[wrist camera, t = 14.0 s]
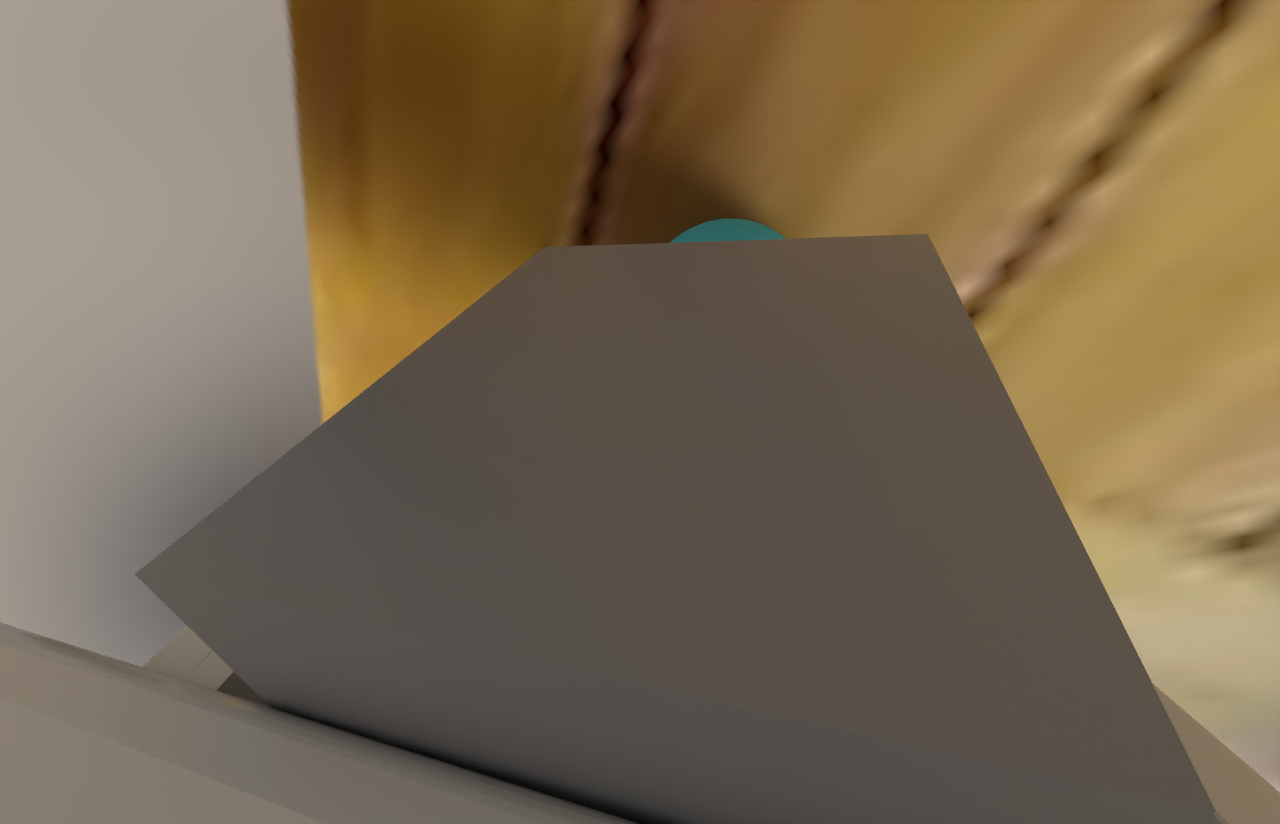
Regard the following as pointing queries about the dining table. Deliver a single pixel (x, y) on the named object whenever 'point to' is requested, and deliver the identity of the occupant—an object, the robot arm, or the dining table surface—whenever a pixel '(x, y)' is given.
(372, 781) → the robot arm
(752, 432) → the gray cuboid
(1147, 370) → the dining table surface
